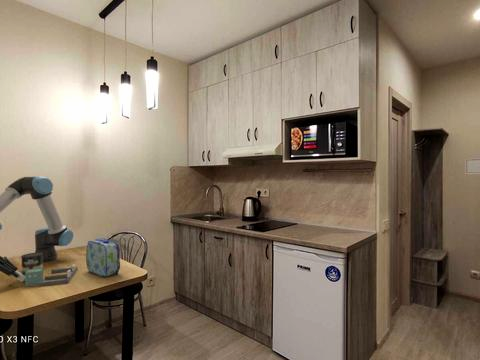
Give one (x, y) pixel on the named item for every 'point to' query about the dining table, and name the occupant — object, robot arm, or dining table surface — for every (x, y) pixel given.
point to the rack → (59, 276)
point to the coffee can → (32, 262)
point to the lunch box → (103, 257)
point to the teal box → (33, 277)
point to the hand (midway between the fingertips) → (24, 279)
